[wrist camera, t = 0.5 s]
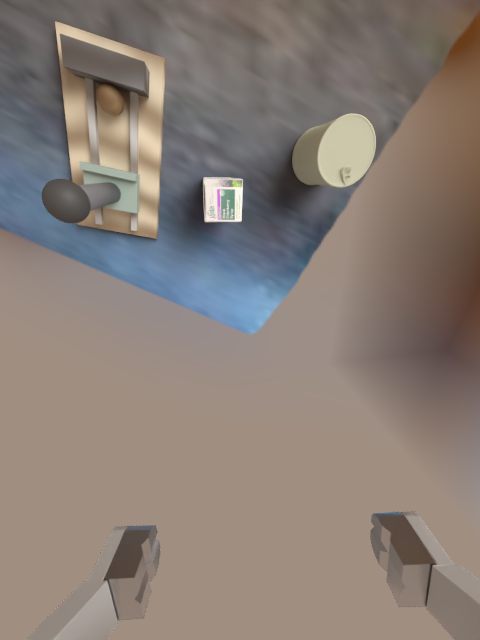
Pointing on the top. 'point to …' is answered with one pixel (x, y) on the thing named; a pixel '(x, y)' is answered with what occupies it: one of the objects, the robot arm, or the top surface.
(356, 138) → the can
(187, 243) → the top surface
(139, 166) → the press frame
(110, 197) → the press handle
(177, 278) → the top surface
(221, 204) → the syrup box
